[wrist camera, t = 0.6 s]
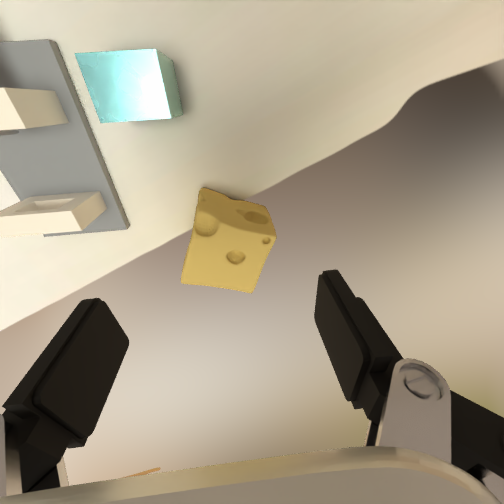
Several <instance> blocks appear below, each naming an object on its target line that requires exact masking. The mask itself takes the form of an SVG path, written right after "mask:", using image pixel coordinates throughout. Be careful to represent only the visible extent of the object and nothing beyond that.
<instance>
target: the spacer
mask: <svg viewBox="0 0 504 504" xmlns="http://www.w3.org/2000/svg"><path fill="white" fill-rule="evenodd" d="M75 56H76V59H77V61H78V64H79V67H80V69H81V72H82V75H83V77H84V80H85V83H86V85H87V88H88V91H89V93H90V96H91V99H92V101H93V104H94V107H95V109H96V112H97V115H98V117H99V120H100V122H101V123H109V122H124V121H138V120H153V119H167V118H174V117H177V116H181V115H183V111H182V106H181V101H180V96H179V91H178V86H177V80H176V75H175V70H174V65H173V61H172V60H170V59H169V58H168V57H166V56H165V55H163V54H162V53H161V52H159V51H158V50H157V49H143V50H125V51H107V52H89V53H75Z"/></svg>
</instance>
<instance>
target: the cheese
mask: <svg viewBox="0 0 504 504" xmlns="http://www.w3.org/2000/svg"><path fill="white" fill-rule="evenodd" d="M275 239H276V232H275V229H274V226H273V223H272V220H271V217H270V215H269V212H268V211H267V209H266V207H265V206H262V205H259V204H255V203H251V202H248V201H243V200H232V199H229V198H228V197H227V196H226V195H224V194H221V193H218V192H215V191H212V190H210V189H207V188H201V189H200V191H199V195H198V204H197V207H196V213H195V220H194V225H193V230H192V235H191V240H190V244H189V246H188V249H187V253H186V256H185V260H184V265H183V270H182V276H181V283H183V284H191V285H204V286H212V287H219V288H226V289H232V290H237V291H243V292H247V293H252V292H253V290H254V288H255V286H256V284H257V281H258V278H259V276H260V273H261V270H262V267H263V265H264V263H265V260H266V258H267V256H268V254H269V252H270V250H271V248H272V246H273V244H274V242H275Z"/></svg>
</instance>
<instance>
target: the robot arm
mask: <svg viewBox="0 0 504 504" xmlns="http://www.w3.org/2000/svg"><path fill="white" fill-rule="evenodd" d="M314 318H315V322H316V325H317V328H318V330H319V333H320V335H321V337H322V340H323V343H324V345H325V348H326V350H327V353H328V356H329V358H330V361H331V363H332V366H333V368H334V371H335V373H336V375H337V378H338V381H339V383H340V386H341V388H342V391H343V393H344V396H345V398H346V400H347V401H351V402H352V404H353V407H354V409H361V408H363V409H364V412H365V414H366V416H367V418H368V419H369V420H370V421H369V426H368V430H367V434H366V438H365V443H364V447H349V448H341V449H333V450H324V451H315V452H306V453H298V454H291V455H284V456H277V457H270V458H262V459H255V460H247V461H241V462H233V463H226V464H219V465H211V466H205V467H197V468H190V469H183V470H176V471H169V472H162V473H155V474H148V475H141V476H134V477H127V478H120V479H113V480H106V481H100V482H93V483H86V484H79V485H73V486H69V482H68V477H67V473H66V468H65V463H64V458H63V455H64V452H65V450H66V448H76V447H83V446H84V445H85V443H86V441H87V438H88V436H90V435H91V434H92V433H93V431H94V429H95V427H96V424H97V422H98V419H99V417H100V414H101V412H102V409H103V407H104V405H105V402H106V400H107V397H108V395H109V393H110V390H111V388H112V385H113V383H114V380H115V378H116V376H117V373H118V370H119V368H120V366H121V363H122V361H123V358H124V356H125V354H126V351H127V349H128V346H129V339H128V337H127V336H126V334H125V333H124V331H123V329H122V328H121V326H120V325H119V323H118V321H117V320H116V318H115V317H114V315H113V314H112V312H111V310H110V309H109V307H108V306H107V304H106V303H105V302H104V301H102V300H101V299H99V298H94V299H86V300H82V301H81V302H80V303H79V304H78V305H77V307H76V308H75V309H74V311H73V312H72V313H71V315H70V316H69V318H68V319H67V320H66V322H65V323H64V324H63V325H62V327H61V328H60V329H59V331H58V332H57V334H56V335H55V336H54V338H53V339H52V340H51V342H50V343H49V344H48V346H47V347H46V348H45V350H44V351H43V352H42V354H41V355H40V356H39V358H38V359H37V360H36V362H35V363H34V364H33V366H32V367H31V368H30V370H29V371H28V372H27V374H26V375H25V377H24V378H23V379H22V381H21V382H20V383H19V385H18V386H17V387H16V389H15V390H14V391H13V392H12V394H11V395H10V396H9V398H8V399H7V401H6V402H5V403H4V404H3V406H2V407H4V408H5V409H6V410H5V412H4V413H3V414H2V415H1V414H0V504H504V418H503V417H501V416H499V415H497V414H495V413H493V412H491V411H489V410H488V409H486V408H484V407H482V406H480V405H478V404H476V403H474V402H472V401H470V400H468V399H466V398H464V397H463V396H461V395H459V394H457V393H455V392H453V391H451V390H450V388H449V386H448V384H447V382H446V380H445V379H444V378H443V377H442V376H441V374H440V373H439V372H438V371H436V370H435V369H434V368H433V367H431V366H430V365H428V364H426V363H424V362H422V361H419V360H416V359H409V358H407V359H403V357H402V356H401V354H400V353H399V352H398V350H397V349H396V347H395V346H394V344H393V343H392V341H391V340H390V338H389V337H388V335H387V334H386V333H385V331H384V330H383V328H382V327H381V325H380V324H379V322H378V321H377V319H376V318H375V316H374V315H373V314H372V312H371V311H370V309H369V308H368V306H367V305H366V303H365V302H364V301H363V299H361V298H359V297H355V295H354V294H353V293H352V291H351V289H350V288H349V286H348V285H347V283H346V282H345V281H344V279H343V277H342V276H341V274H340V273H339V271H338V270H328V271H323V273H322V275H319V278H318V287H317V296H316V305H315V314H314Z"/></svg>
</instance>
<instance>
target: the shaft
mask: <svg viewBox="0 0 504 504" xmlns="http://www.w3.org/2000/svg"><path fill="white" fill-rule="evenodd" d="M18 133H19V131H18V129H13V130H0V136H1V135H11V134H18Z"/></svg>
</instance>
